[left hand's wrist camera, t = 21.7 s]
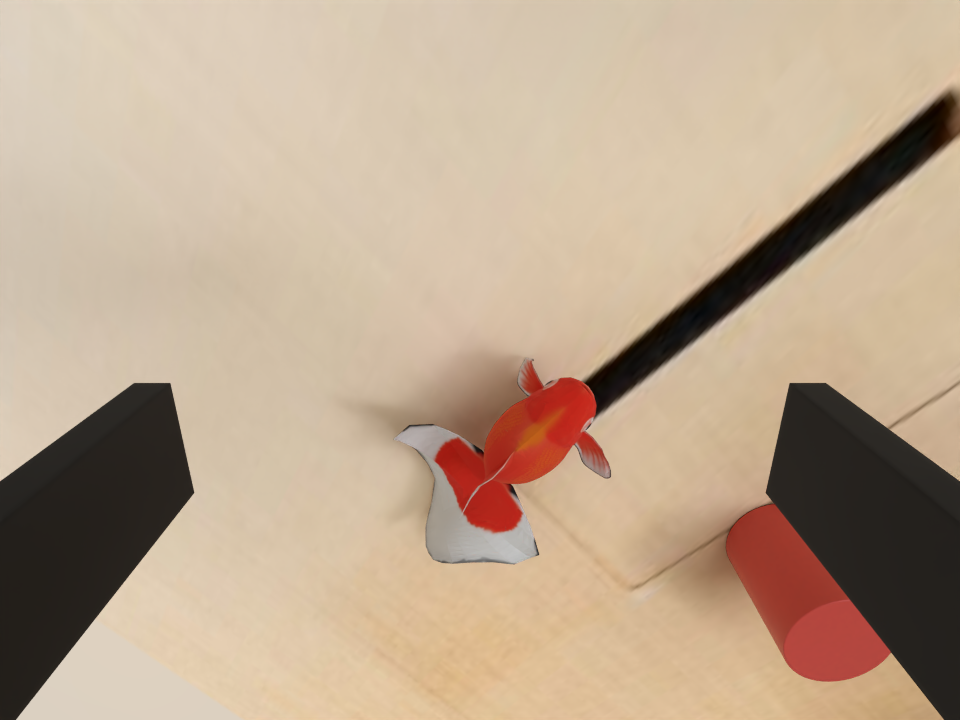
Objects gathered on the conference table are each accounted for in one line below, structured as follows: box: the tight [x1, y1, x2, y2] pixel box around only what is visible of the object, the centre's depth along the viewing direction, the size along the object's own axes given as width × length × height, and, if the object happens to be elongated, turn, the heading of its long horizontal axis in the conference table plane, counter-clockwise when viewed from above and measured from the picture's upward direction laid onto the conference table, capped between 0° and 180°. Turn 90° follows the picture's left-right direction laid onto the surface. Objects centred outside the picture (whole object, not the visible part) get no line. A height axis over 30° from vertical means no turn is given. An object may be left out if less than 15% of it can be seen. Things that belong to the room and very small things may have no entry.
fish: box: [393, 358, 611, 564], centre depth 34 cm, size 11×16×10 cm
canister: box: [726, 504, 891, 682], centre depth 36 cm, size 6×6×8 cm
